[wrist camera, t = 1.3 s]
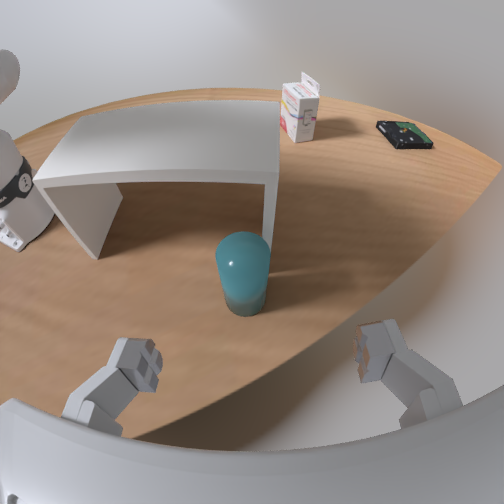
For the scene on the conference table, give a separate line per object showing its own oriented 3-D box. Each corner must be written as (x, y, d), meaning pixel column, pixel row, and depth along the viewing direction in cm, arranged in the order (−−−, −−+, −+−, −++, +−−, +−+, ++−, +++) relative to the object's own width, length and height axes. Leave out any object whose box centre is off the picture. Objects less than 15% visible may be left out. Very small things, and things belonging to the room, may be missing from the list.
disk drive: (395, 151, 58) (431, 150, 60) (398, 143, 56) (434, 142, 57) (374, 128, 63) (410, 128, 65) (376, 120, 61) (413, 121, 63)
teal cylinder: (223, 314, 37) (211, 276, 26) (227, 278, 40) (219, 230, 29) (264, 318, 36) (269, 280, 26) (266, 281, 39) (271, 233, 29)
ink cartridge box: (278, 124, 61) (282, 71, 48) (296, 122, 61) (302, 70, 49) (294, 143, 56) (301, 85, 44) (313, 140, 57) (322, 84, 45)
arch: (92, 259, 41) (31, 180, 24) (118, 197, 48) (80, 116, 32) (268, 273, 40) (279, 172, 23) (271, 201, 47) (279, 102, 30)
